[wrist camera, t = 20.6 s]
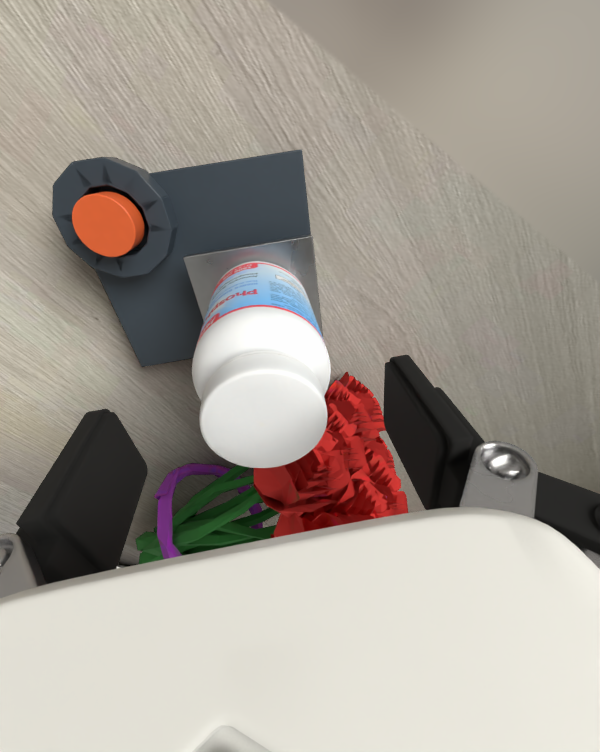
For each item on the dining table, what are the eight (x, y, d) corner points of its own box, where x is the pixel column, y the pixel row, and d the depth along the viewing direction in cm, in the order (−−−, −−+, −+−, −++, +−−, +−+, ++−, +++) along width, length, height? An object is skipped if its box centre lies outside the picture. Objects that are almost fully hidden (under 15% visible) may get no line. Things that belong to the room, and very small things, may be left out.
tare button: (75, 196, 17) (58, 199, 16) (131, 187, 17) (120, 189, 16) (101, 254, 19) (89, 261, 18) (153, 245, 19) (144, 252, 18)
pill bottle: (236, 238, 18) (218, 316, 9) (325, 289, 21) (383, 392, 11) (196, 325, 21) (150, 455, 12) (279, 362, 23) (295, 496, 14)
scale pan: (184, 254, 19) (182, 257, 19) (311, 233, 19) (312, 235, 19) (219, 363, 23) (218, 367, 23) (322, 345, 24) (324, 349, 23)
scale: (61, 167, 19) (26, 168, 16) (296, 130, 19) (303, 125, 17) (147, 356, 26) (134, 380, 23) (318, 327, 27) (325, 347, 24)
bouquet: (127, 457, 40) (297, 310, 25) (234, 505, 48) (414, 413, 33) (19, 672, 26) (272, 619, 11) (198, 693, 33) (492, 679, 18)
